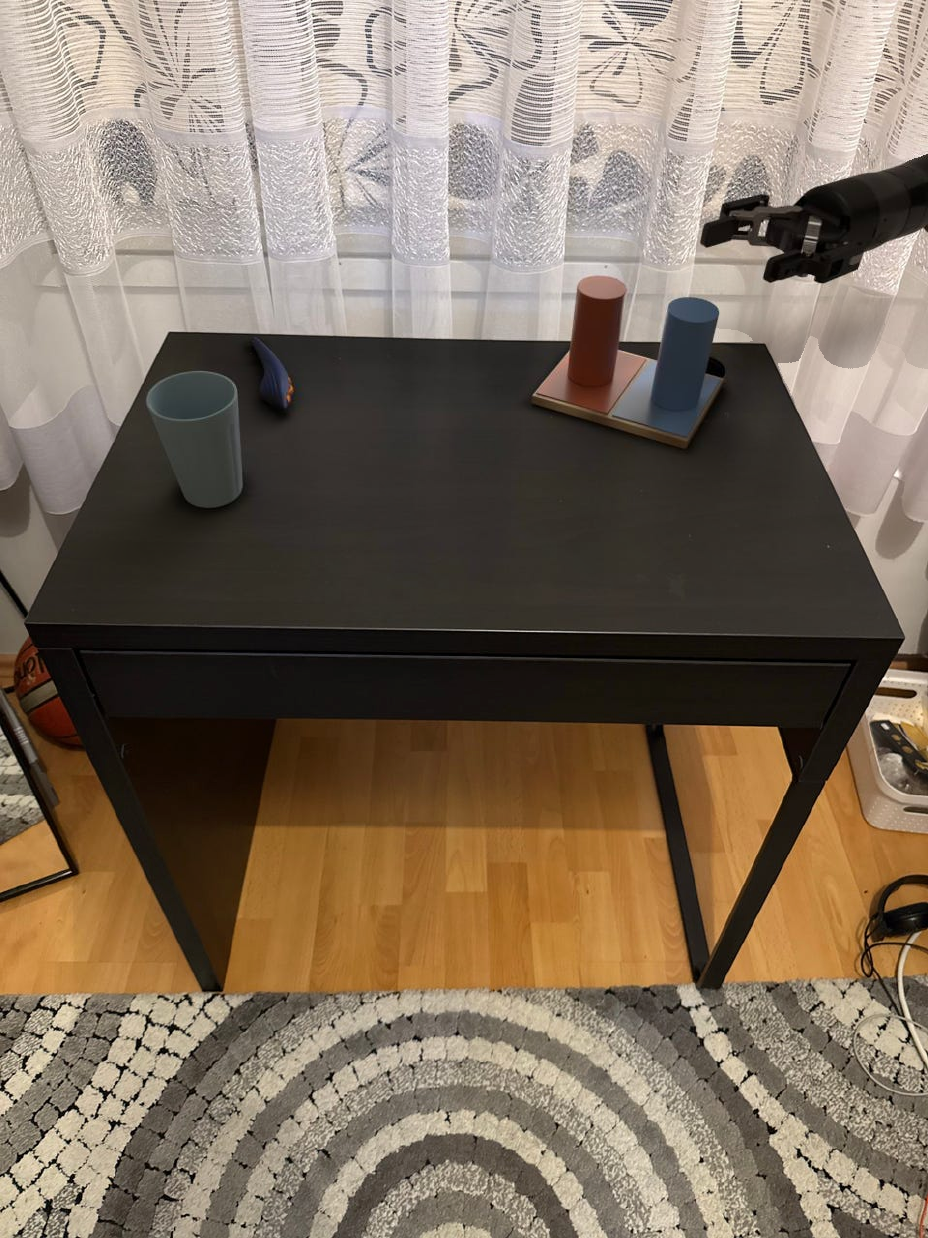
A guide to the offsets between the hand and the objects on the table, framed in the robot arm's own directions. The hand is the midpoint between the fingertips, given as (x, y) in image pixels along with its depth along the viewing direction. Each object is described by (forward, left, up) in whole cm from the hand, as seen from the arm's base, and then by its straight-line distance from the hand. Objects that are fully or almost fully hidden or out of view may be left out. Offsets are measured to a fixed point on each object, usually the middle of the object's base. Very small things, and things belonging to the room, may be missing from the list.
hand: (734, 253), depth 88 cm
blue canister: (+2, +3, -15) cm, 15 cm away
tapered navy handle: (+42, +19, -16) cm, 49 cm away
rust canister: (+12, +3, -15) cm, 19 cm away
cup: (+36, +37, -16) cm, 54 cm away
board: (+7, +3, -16) cm, 18 cm away
